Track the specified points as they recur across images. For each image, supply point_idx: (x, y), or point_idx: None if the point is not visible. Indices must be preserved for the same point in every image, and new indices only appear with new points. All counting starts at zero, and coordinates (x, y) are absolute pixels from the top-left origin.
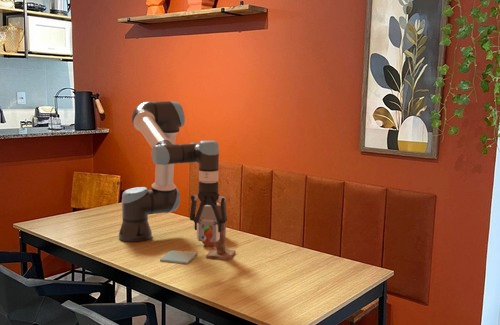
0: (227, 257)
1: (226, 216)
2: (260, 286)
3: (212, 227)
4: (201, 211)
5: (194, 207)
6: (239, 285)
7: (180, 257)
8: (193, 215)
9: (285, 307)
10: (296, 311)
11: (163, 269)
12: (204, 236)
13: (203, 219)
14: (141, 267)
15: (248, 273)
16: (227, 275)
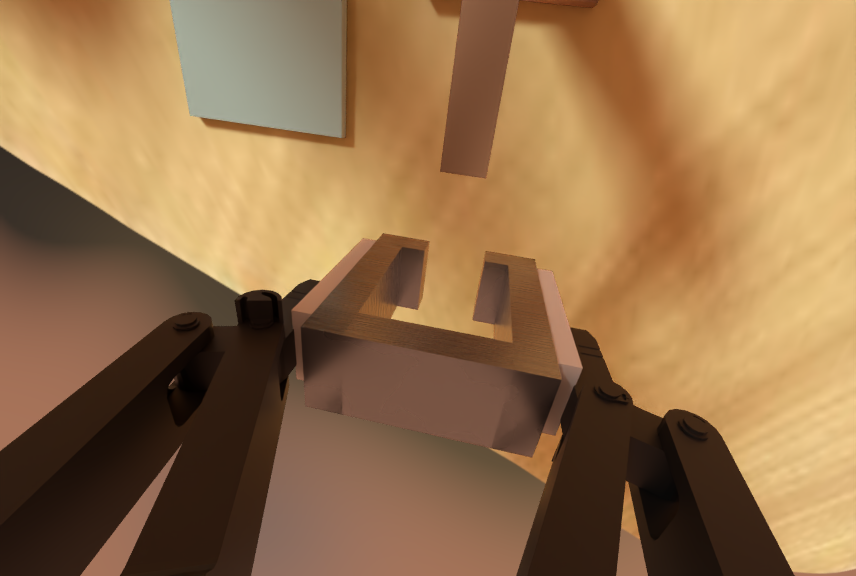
0: (584, 1)
1: (744, 503)
2: (725, 378)
3: (464, 173)
4: (257, 491)
5: (79, 554)
6: (626, 370)
7: (275, 58)
8: (171, 359)
9: (773, 515)
10: (803, 536)
11: (269, 228)
12: (410, 259)
13: (341, 349)
14: (174, 215)
15: (697, 237)
16: (575, 272)
